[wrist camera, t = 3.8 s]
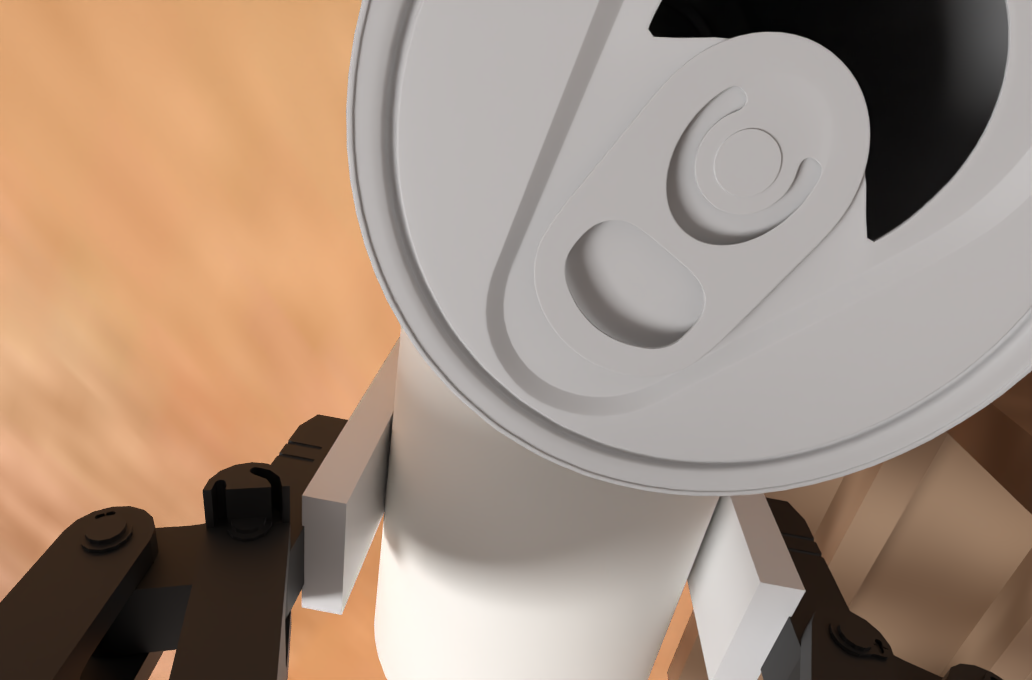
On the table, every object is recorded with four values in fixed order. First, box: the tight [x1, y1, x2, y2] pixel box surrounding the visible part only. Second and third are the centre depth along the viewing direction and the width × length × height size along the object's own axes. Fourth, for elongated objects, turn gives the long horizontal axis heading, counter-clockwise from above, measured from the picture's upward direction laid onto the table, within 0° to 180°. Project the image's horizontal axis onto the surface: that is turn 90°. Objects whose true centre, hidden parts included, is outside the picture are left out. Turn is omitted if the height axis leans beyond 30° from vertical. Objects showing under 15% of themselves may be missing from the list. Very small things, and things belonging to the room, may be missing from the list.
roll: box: [374, 326, 720, 680], centre depth 13 cm, size 9×7×7 cm
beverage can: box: [346, 0, 1032, 496], centre depth 9 cm, size 6×6×12 cm
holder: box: [667, 371, 1032, 680], centre depth 16 cm, size 16×12×8 cm
